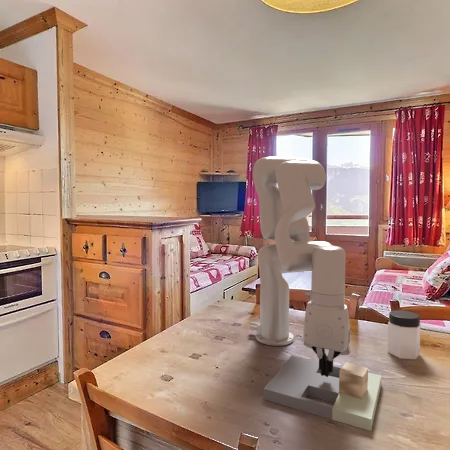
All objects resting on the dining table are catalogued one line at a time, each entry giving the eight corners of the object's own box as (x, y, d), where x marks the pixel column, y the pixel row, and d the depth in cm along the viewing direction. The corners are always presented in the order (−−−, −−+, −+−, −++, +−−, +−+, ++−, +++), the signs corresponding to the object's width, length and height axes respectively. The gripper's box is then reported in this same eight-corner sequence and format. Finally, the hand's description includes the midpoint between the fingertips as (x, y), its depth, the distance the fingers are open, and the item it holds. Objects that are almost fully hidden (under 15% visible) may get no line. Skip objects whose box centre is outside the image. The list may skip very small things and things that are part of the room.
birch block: (338, 391, 78) (339, 370, 77) (345, 382, 82) (345, 362, 81) (362, 399, 75) (362, 377, 74) (367, 389, 79) (368, 368, 79)
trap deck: (263, 399, 79) (263, 388, 79) (291, 364, 97) (291, 355, 96) (371, 431, 68) (371, 418, 68) (381, 385, 85) (381, 375, 85)
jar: (392, 345, 109) (393, 308, 109) (421, 352, 104) (422, 313, 103) (384, 354, 103) (385, 315, 102) (415, 362, 97) (416, 321, 97)
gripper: (291, 298, 81) (290, 372, 83) (358, 307, 74) (356, 389, 75) (301, 290, 88) (300, 360, 89) (363, 299, 80) (361, 374, 82)
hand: (325, 373), depth 82 cm, fingers closed
